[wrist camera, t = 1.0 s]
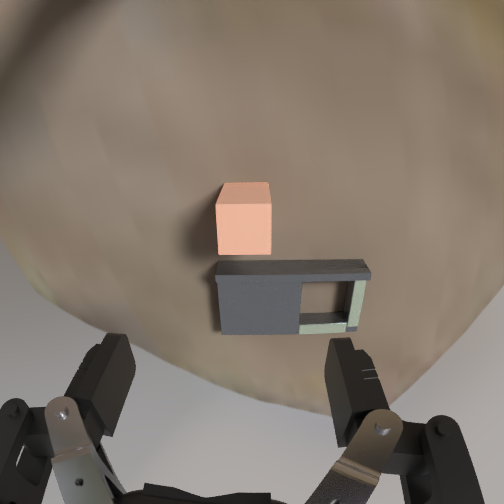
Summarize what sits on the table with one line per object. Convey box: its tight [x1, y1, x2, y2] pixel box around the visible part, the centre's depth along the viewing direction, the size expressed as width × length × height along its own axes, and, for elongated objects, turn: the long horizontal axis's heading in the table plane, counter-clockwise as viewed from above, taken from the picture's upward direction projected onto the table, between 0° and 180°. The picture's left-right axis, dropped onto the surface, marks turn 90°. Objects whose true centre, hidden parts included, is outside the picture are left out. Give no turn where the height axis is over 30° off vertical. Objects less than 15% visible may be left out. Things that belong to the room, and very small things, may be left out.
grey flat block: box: [215, 259, 371, 335], centre depth 33 cm, size 8×15×3 cm, turn 91°
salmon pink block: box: [216, 182, 271, 255], centre depth 27 cm, size 4×4×7 cm
